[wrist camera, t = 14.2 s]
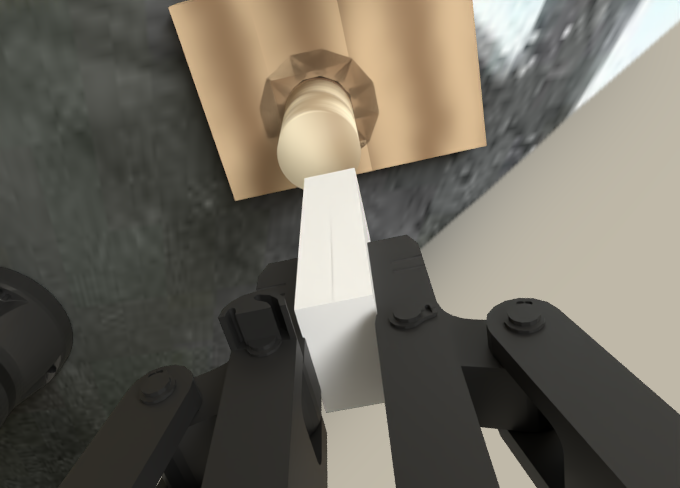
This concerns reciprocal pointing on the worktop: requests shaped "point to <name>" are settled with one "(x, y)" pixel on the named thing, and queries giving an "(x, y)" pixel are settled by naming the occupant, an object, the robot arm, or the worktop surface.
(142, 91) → the worktop surface
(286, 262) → the robot arm
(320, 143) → the peg
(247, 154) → the board
